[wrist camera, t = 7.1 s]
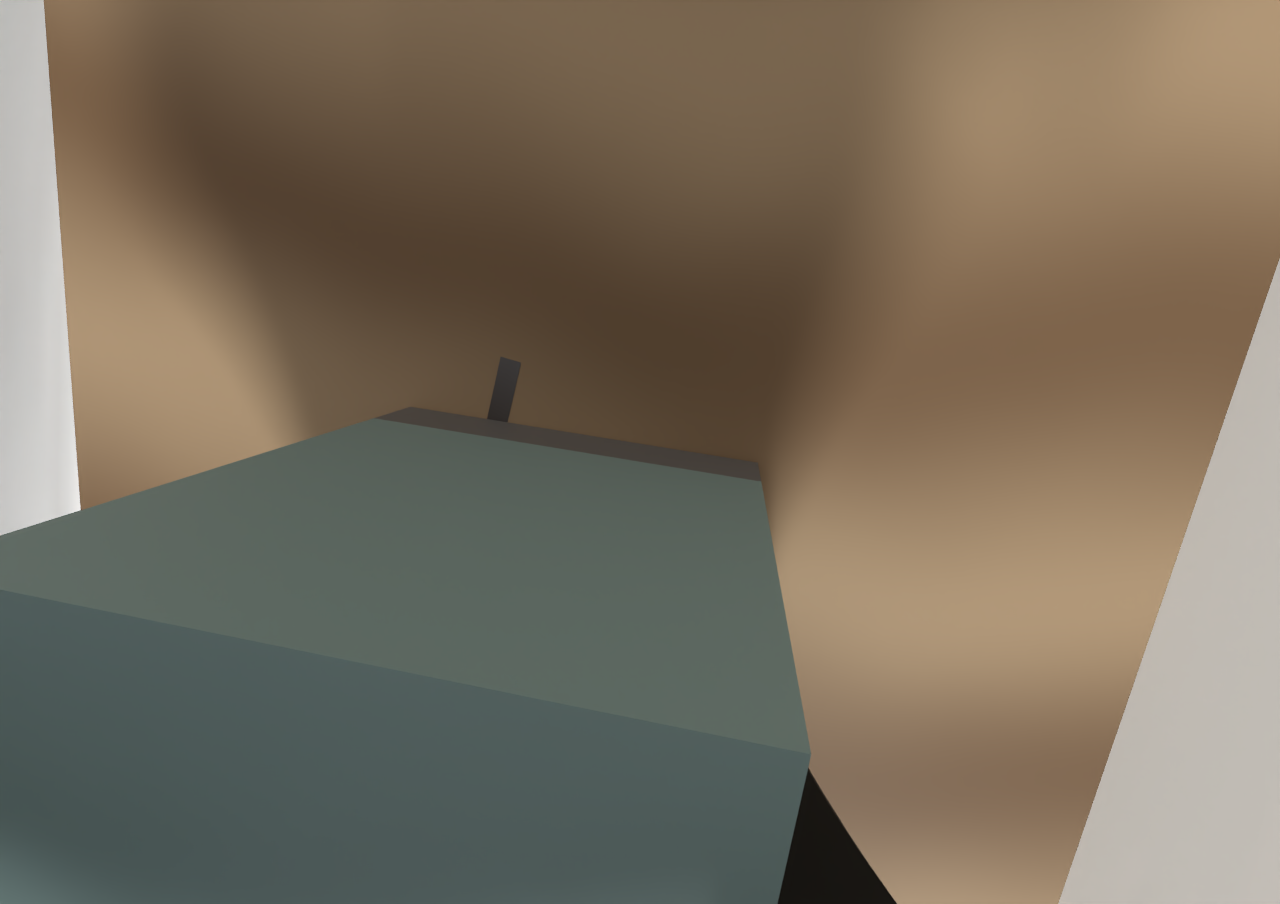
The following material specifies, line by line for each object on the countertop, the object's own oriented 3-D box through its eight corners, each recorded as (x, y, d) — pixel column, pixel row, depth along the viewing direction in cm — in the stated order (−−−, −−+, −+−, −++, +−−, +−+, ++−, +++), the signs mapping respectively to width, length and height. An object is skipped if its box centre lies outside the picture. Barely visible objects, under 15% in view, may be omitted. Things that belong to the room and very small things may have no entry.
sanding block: (410, 406, 9) (-105, 570, 4) (757, 462, 9) (810, 754, 3) (389, 812, 11) (11, 1374, 5) (681, 879, 11) (623, 1579, 5)
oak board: (129, -208, 10) (21, -300, 8) (1317, -135, 8) (1450, -236, 6) (182, 1036, 15) (124, 1114, 14) (889, 1226, 14) (909, 1337, 12)
